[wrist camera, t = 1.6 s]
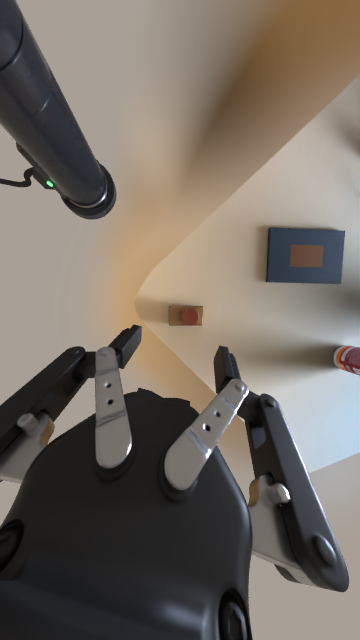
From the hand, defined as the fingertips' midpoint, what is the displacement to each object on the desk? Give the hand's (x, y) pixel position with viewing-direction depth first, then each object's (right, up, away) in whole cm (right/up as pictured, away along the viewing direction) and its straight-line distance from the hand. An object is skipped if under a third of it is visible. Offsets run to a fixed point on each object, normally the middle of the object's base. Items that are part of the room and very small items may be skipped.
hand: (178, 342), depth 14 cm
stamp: (+1, +3, +17) cm, 18 cm away
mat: (+29, +17, +18) cm, 39 cm away
